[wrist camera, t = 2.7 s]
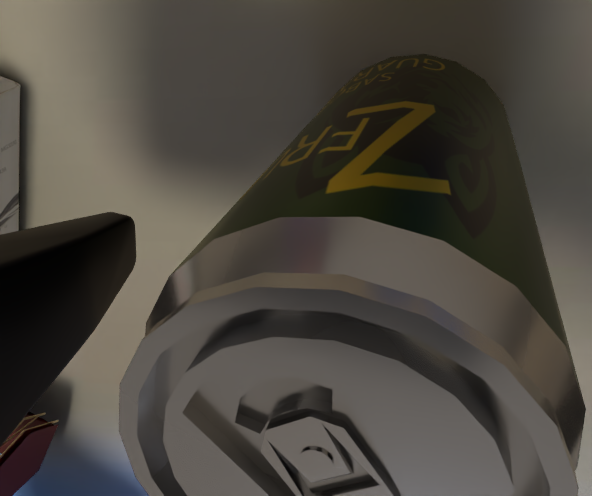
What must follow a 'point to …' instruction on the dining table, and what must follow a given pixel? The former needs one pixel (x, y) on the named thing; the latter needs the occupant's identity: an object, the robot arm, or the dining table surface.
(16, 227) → the ink box
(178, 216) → the dining table surface
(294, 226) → the beer can
